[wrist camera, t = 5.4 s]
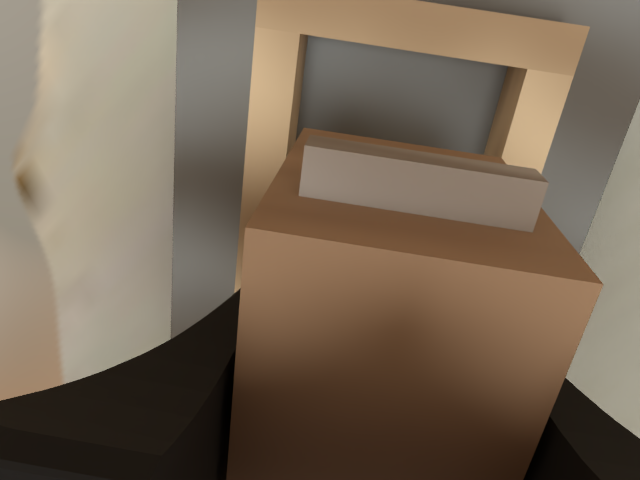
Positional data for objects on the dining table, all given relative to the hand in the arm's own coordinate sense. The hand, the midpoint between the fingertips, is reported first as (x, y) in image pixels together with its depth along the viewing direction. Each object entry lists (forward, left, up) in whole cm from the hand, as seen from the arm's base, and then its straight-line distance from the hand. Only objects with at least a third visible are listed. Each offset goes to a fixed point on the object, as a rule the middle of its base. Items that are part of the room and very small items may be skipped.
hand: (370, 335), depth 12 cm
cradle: (0, 0, -7) cm, 7 cm away
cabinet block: (0, 0, -2) cm, 2 cm away
